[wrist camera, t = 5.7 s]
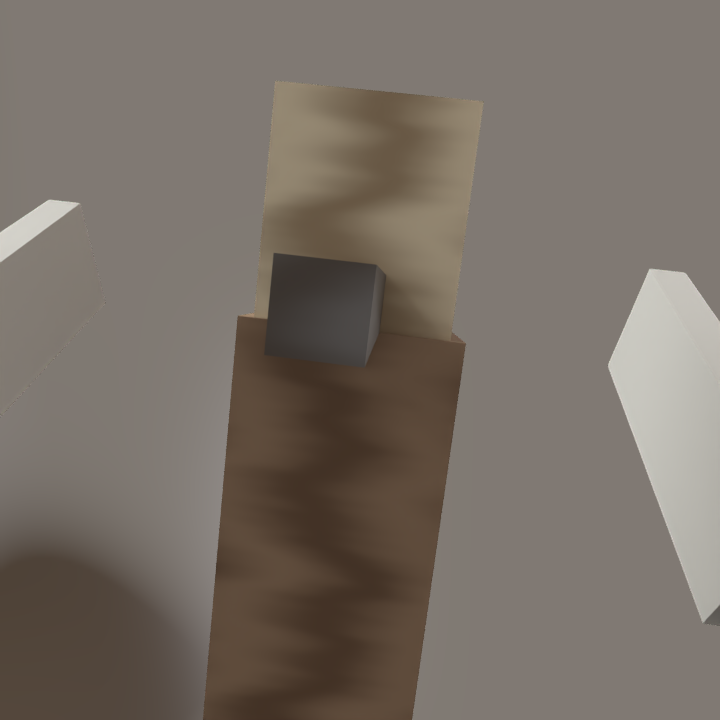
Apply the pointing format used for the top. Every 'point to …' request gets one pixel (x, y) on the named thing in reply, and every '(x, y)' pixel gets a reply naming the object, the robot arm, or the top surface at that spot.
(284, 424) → the brown wooden tall block
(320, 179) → the beige wooden block
